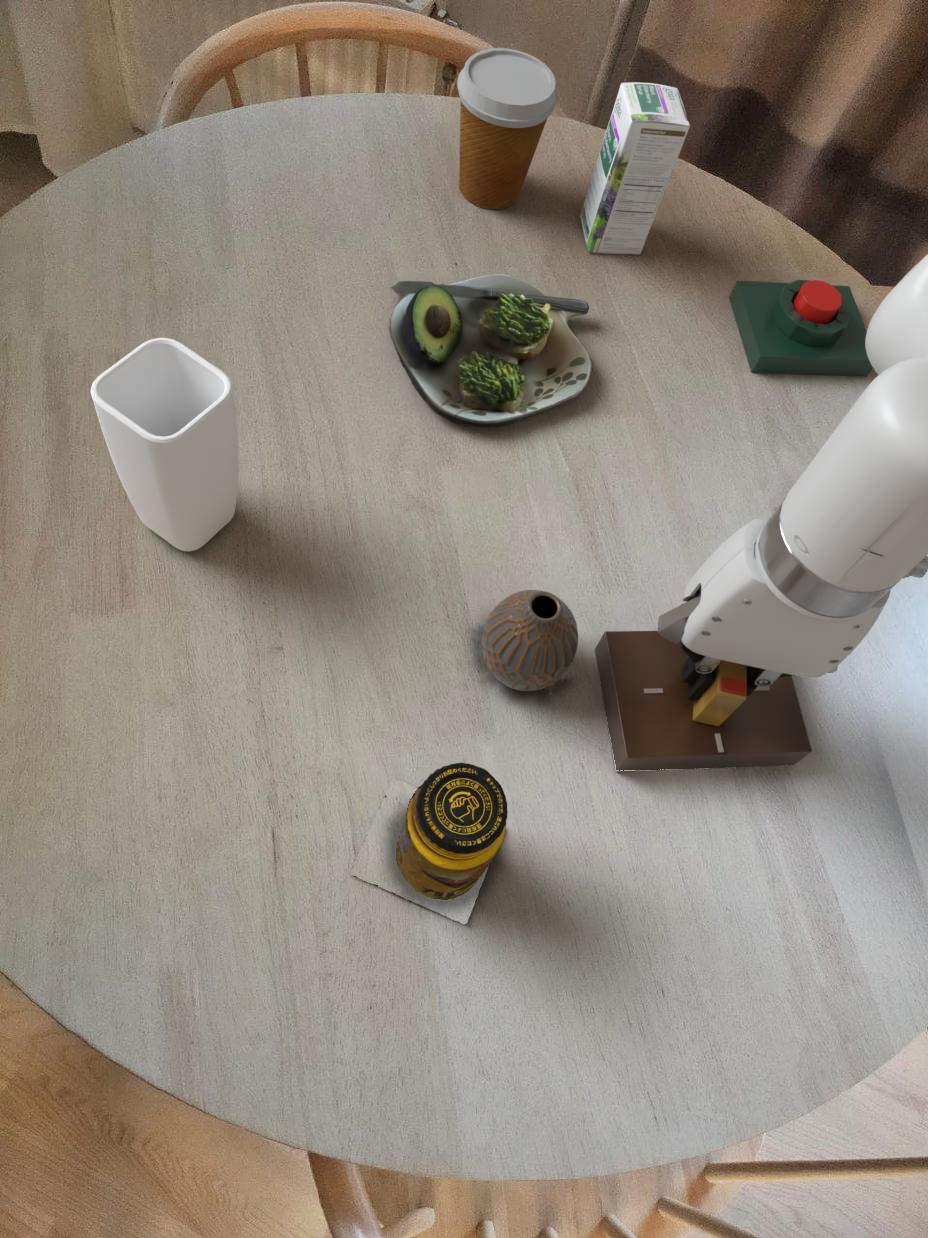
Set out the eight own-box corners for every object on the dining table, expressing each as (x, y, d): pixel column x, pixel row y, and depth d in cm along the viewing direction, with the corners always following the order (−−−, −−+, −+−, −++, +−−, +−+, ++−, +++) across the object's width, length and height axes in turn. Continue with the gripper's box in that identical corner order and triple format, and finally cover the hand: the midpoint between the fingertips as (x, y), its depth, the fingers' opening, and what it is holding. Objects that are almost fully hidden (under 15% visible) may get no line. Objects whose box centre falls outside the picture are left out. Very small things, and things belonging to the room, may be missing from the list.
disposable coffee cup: (503, 234, 95) (527, 122, 84) (425, 189, 96) (438, 74, 86) (551, 187, 99) (579, 76, 89) (475, 146, 101) (494, 31, 90)
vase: (517, 721, 70) (543, 670, 62) (456, 654, 72) (474, 596, 64) (583, 669, 72) (614, 615, 65) (522, 606, 74) (546, 546, 67)
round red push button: (827, 294, 92) (835, 280, 90) (838, 325, 90) (847, 311, 88) (788, 292, 91) (796, 278, 89) (799, 323, 89) (807, 309, 88)
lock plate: (763, 646, 76) (780, 627, 73) (794, 765, 71) (813, 750, 68) (594, 649, 73) (605, 630, 71) (615, 772, 69) (627, 757, 66)
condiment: (466, 927, 62) (497, 884, 52) (348, 875, 63) (355, 823, 52) (504, 826, 66) (540, 768, 55) (392, 778, 66) (407, 711, 56)
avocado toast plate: (544, 261, 94) (554, 222, 90) (635, 393, 87) (650, 357, 83) (363, 304, 87) (365, 264, 83) (446, 449, 81) (453, 413, 77)
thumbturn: (695, 654, 71) (722, 621, 66) (721, 660, 71) (749, 627, 66) (692, 721, 68) (719, 691, 64) (718, 726, 68) (748, 697, 64)
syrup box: (577, 215, 98) (617, 78, 85) (632, 217, 99) (679, 83, 86) (587, 254, 95) (629, 119, 82) (643, 256, 96) (693, 123, 83)
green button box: (838, 302, 97) (858, 271, 93) (866, 377, 92) (888, 347, 89) (728, 297, 95) (744, 265, 91) (751, 373, 90) (768, 342, 87)
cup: (186, 464, 76) (160, 327, 63) (256, 513, 75) (243, 384, 62) (119, 521, 73) (77, 389, 60) (190, 573, 72) (163, 450, 59)
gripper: (959, 527, 55) (814, 664, 71) (695, 468, 55) (608, 619, 71) (971, 639, 52) (815, 756, 68) (688, 576, 51) (599, 710, 67)
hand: (710, 685), depth 69 cm, fingers closed on thumbturn, 2 cm apart
